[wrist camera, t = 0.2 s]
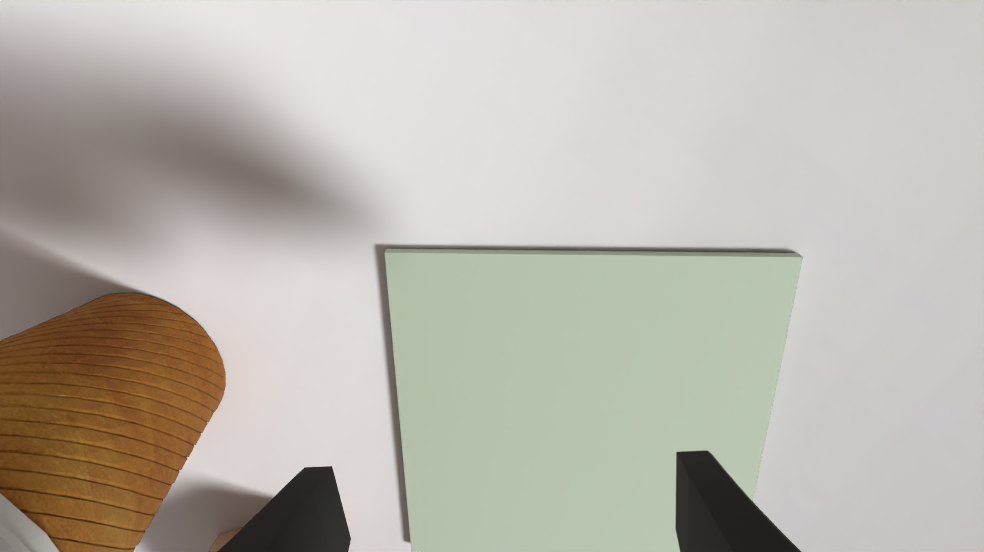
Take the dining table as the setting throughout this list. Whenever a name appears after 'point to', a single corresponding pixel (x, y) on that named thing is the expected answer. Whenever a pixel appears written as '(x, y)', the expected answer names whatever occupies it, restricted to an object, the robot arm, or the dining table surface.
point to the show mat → (577, 388)
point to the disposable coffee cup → (100, 421)
